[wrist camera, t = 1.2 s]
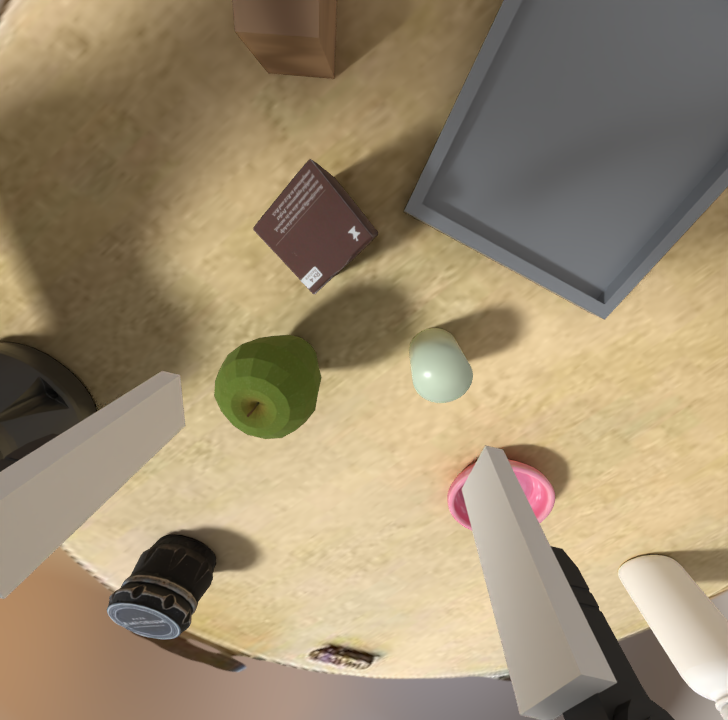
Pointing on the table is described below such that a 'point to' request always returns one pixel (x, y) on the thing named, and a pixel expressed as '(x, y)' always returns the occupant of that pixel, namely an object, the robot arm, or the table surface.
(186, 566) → the container
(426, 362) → the sage canister
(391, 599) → the table surface
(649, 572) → the pill bottle
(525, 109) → the tray
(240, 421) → the apple
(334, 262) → the box
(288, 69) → the walnut block
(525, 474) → the pink shallow round dish
